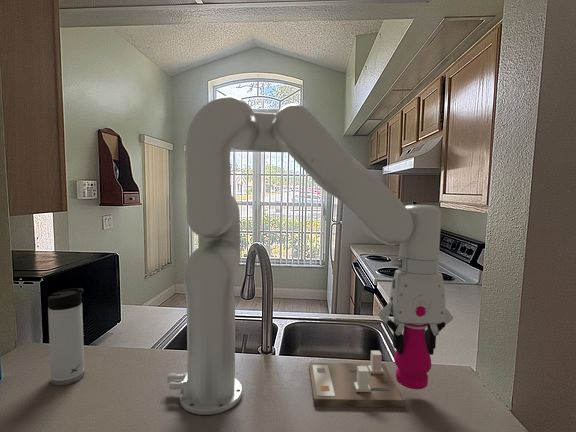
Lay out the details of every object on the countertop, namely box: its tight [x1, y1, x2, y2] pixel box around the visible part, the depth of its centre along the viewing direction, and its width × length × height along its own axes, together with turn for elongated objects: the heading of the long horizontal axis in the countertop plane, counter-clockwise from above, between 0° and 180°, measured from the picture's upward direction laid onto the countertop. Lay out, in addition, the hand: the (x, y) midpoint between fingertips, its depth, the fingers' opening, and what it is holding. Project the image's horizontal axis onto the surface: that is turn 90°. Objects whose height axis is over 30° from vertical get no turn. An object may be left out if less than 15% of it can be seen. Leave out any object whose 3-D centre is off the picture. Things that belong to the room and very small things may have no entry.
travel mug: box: [47, 287, 85, 386], centre depth 75 cm, size 6×7×20 cm
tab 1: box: [354, 366, 371, 392], centre depth 71 cm, size 3×2×4 cm
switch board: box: [308, 362, 405, 408], centre depth 75 cm, size 18×14×2 cm
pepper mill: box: [393, 306, 432, 390], centre depth 71 cm, size 7×7×20 cm
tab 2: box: [368, 350, 384, 374], centre depth 78 cm, size 3×2×4 cm
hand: (413, 350), depth 71 cm, fingers closed on pepper mill, 5 cm apart
